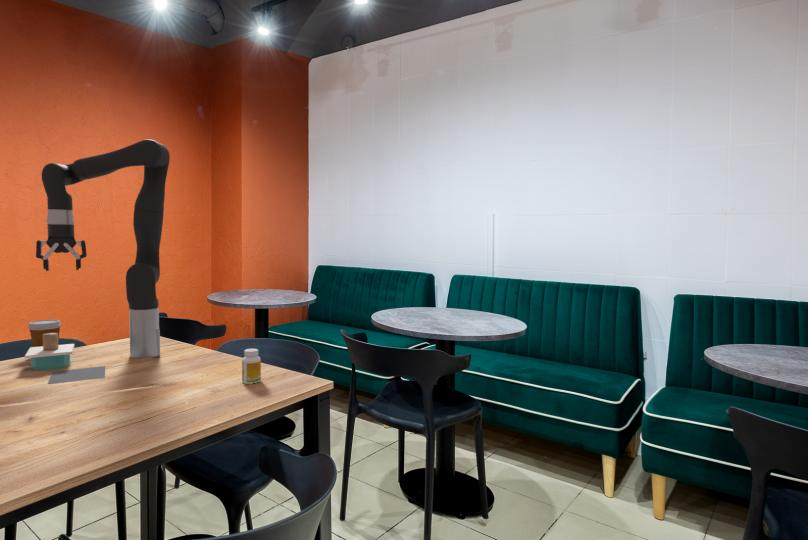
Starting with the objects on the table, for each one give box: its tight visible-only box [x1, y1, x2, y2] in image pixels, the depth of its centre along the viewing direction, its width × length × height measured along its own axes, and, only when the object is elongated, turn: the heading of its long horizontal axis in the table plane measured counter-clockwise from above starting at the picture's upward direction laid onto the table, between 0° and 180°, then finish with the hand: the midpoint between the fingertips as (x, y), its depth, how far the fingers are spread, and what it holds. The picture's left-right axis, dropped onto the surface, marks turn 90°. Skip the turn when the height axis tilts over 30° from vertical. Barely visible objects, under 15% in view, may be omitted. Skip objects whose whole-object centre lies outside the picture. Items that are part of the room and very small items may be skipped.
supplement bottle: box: [241, 348, 262, 385], centre depth 148 cm, size 5×5×10 cm
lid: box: [24, 333, 75, 359], centre depth 159 cm, size 12×12×6 cm
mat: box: [47, 365, 106, 385], centre depth 151 cm, size 14×14×1 cm
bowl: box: [30, 354, 71, 371], centre depth 159 cm, size 10×10×5 cm
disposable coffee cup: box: [27, 319, 62, 347], centre depth 173 cm, size 10×10×12 cm
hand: (62, 270), depth 171 cm, fingers open, 8 cm apart
